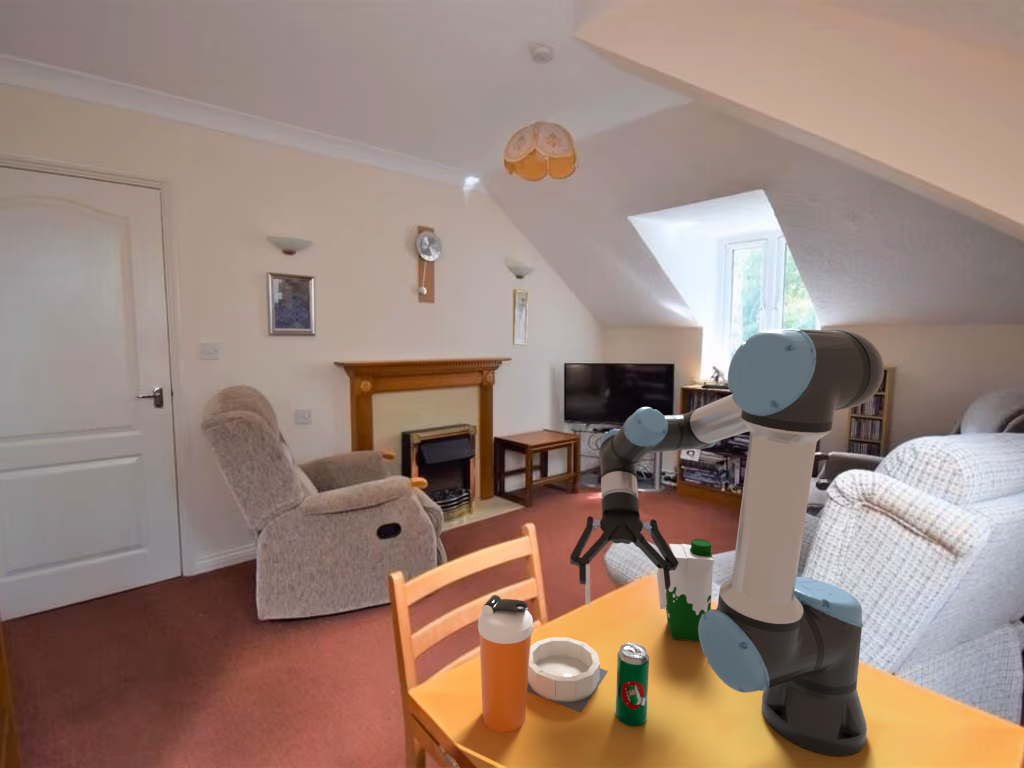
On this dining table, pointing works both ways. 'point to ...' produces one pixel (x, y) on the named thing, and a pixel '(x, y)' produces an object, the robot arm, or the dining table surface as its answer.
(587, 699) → the mat
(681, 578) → the milk carton
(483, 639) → the shaker bottle
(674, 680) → the dining table surface
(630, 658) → the soda can
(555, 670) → the bowl
